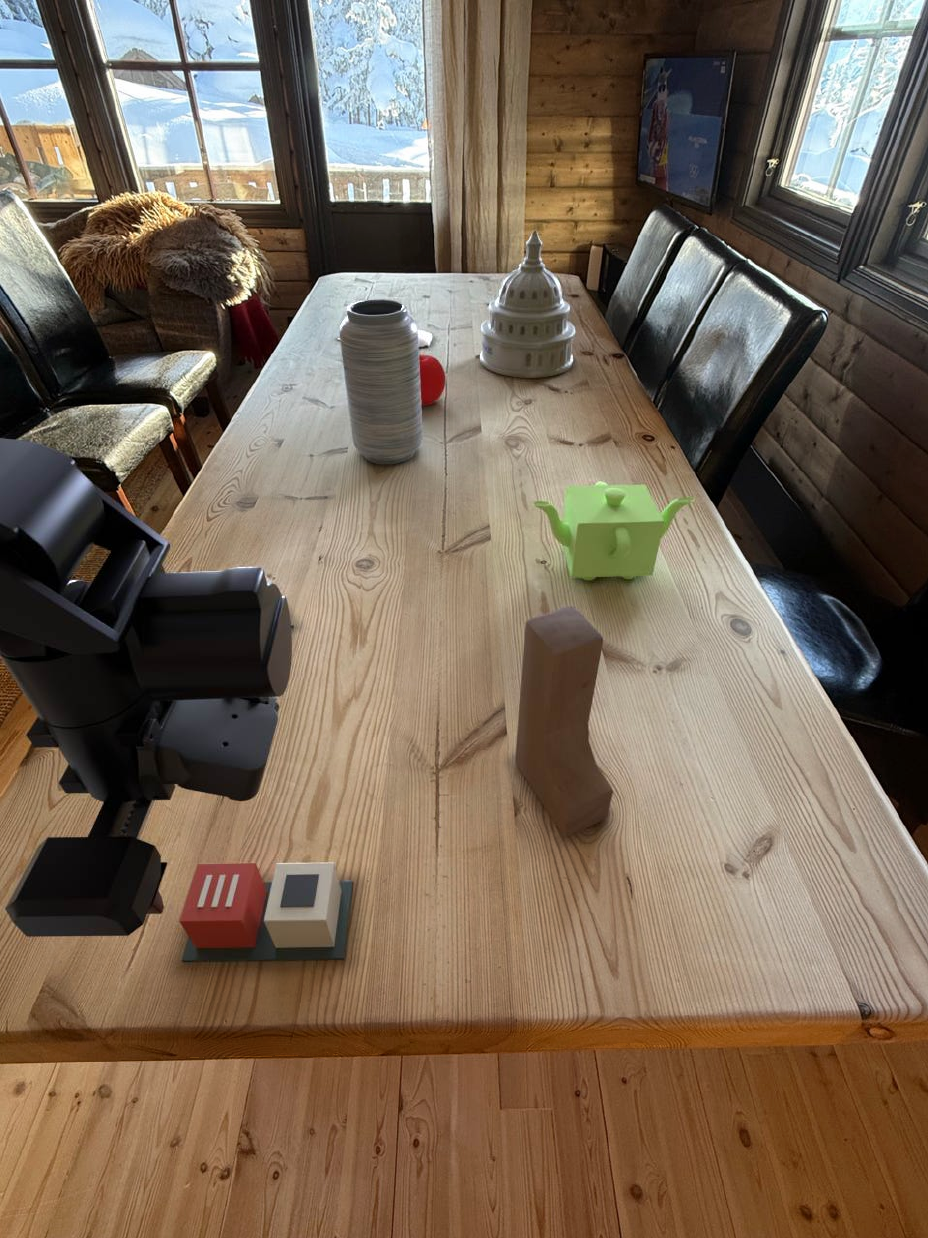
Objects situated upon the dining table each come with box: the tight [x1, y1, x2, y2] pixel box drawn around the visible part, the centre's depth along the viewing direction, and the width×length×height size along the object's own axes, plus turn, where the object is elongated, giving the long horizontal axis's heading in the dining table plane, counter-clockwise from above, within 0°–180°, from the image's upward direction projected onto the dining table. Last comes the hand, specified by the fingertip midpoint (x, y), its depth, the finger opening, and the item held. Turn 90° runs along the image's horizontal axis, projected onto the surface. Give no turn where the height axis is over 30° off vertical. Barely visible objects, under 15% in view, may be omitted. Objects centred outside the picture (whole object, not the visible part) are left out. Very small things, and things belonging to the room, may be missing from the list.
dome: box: [479, 229, 576, 379], centre depth 135 cm, size 20×25×20 cm
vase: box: [338, 298, 424, 466], centre depth 103 cm, size 12×12×23 cm
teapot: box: [531, 481, 696, 581], centre depth 83 cm, size 15×13×11 cm
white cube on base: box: [180, 862, 354, 964], centre depth 49 cm, size 12×6×5 cm, turn 91°
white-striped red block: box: [179, 862, 267, 948], centre depth 49 cm, size 4×4×4 cm
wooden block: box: [514, 605, 614, 838], centre depth 54 cm, size 9×4×18 cm, turn 26°
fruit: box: [419, 354, 446, 407], centre depth 123 cm, size 9×9×10 cm
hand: (178, 844), depth 45 cm, fingers open, 9 cm apart
